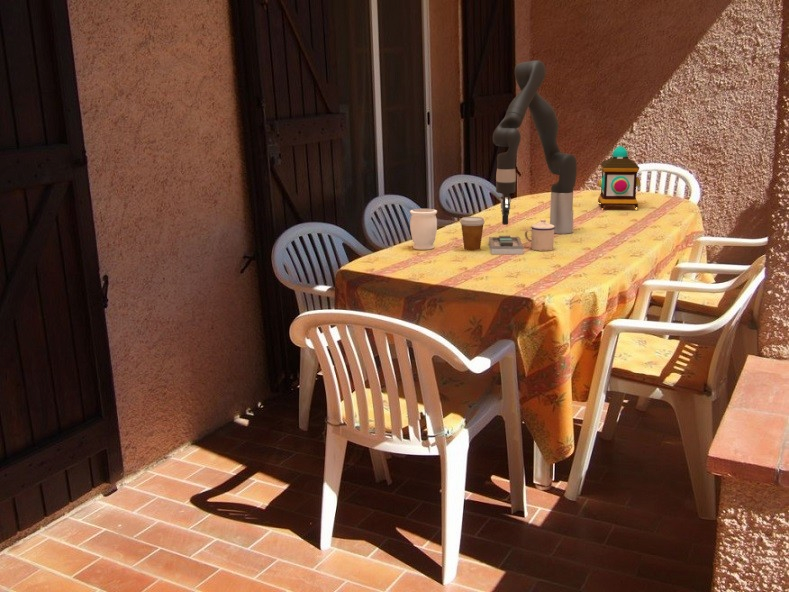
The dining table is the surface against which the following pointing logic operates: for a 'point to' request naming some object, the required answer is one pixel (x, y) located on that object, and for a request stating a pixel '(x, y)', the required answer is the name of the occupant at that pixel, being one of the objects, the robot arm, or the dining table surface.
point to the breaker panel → (499, 249)
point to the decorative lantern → (619, 180)
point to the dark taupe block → (506, 243)
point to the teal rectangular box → (505, 239)
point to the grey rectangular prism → (504, 237)
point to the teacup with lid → (541, 236)
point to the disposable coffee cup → (472, 232)
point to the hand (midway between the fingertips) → (505, 224)
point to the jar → (423, 228)
